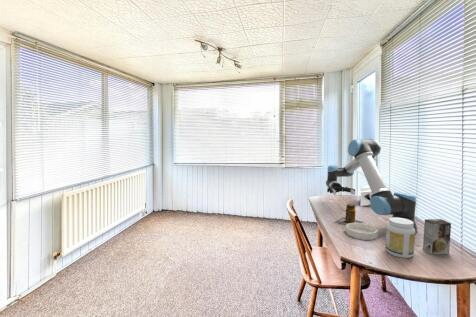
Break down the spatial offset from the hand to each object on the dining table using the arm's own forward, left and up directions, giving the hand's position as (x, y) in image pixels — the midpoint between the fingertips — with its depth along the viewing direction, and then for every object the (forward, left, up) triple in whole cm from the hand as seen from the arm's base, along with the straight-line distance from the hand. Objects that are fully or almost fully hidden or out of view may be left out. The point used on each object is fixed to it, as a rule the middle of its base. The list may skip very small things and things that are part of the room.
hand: (344, 193), depth 180 cm
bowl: (-19, +24, -18) cm, 35 cm away
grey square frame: (-6, +8, -18) cm, 21 cm away
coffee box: (-54, +21, -18) cm, 61 cm away
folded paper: (-1, -52, -18) cm, 55 cm away
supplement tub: (-41, +36, -18) cm, 58 cm away
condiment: (-6, +8, -18) cm, 21 cm away
